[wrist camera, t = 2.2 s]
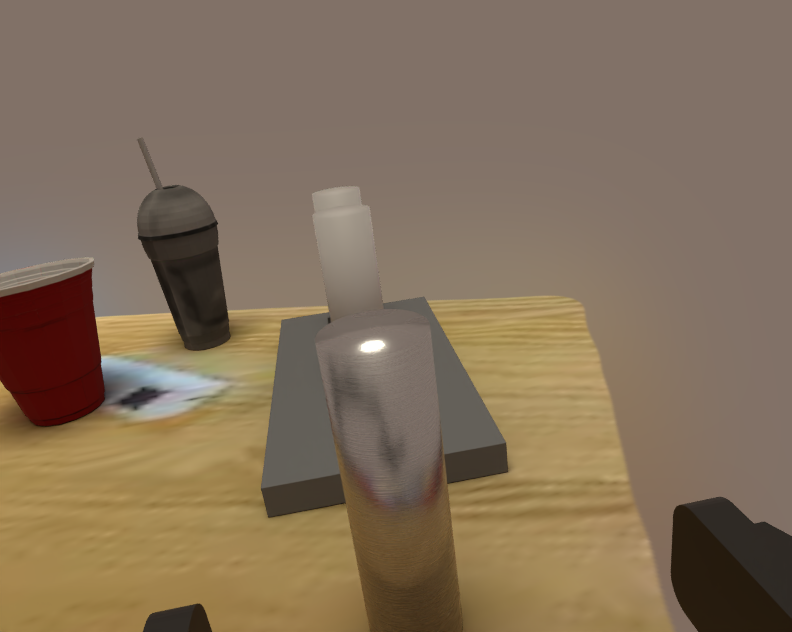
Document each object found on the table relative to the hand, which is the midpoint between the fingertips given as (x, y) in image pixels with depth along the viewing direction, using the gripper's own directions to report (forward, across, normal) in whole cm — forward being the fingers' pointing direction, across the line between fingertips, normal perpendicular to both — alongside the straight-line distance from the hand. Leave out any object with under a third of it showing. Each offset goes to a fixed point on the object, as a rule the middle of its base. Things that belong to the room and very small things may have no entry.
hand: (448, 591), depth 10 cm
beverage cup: (+50, +15, +13) cm, 53 cm away
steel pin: (+12, 0, +14) cm, 18 cm away
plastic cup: (+40, +25, +13) cm, 49 cm away
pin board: (+34, 0, +13) cm, 36 cm away
